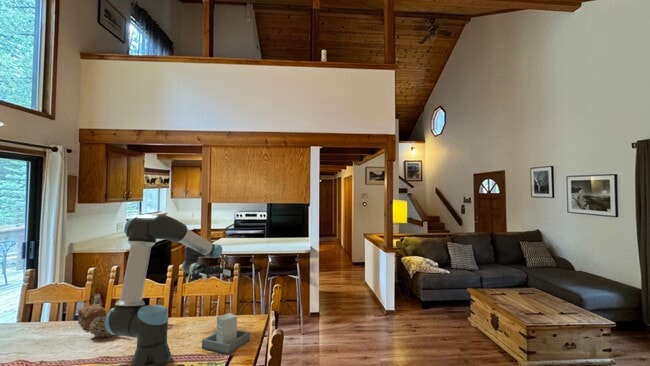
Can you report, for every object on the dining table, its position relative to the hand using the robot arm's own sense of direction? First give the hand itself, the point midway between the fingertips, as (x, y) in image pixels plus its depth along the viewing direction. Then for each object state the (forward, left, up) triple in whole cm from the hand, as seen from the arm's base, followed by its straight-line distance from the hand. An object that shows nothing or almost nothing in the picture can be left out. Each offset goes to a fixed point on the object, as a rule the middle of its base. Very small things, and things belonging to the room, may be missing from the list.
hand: (218, 275), depth 162 cm
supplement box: (+9, -4, -31) cm, 33 cm away
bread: (-81, -12, -32) cm, 88 cm away
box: (+9, -3, -32) cm, 33 cm away
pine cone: (-53, -19, -32) cm, 65 cm away
